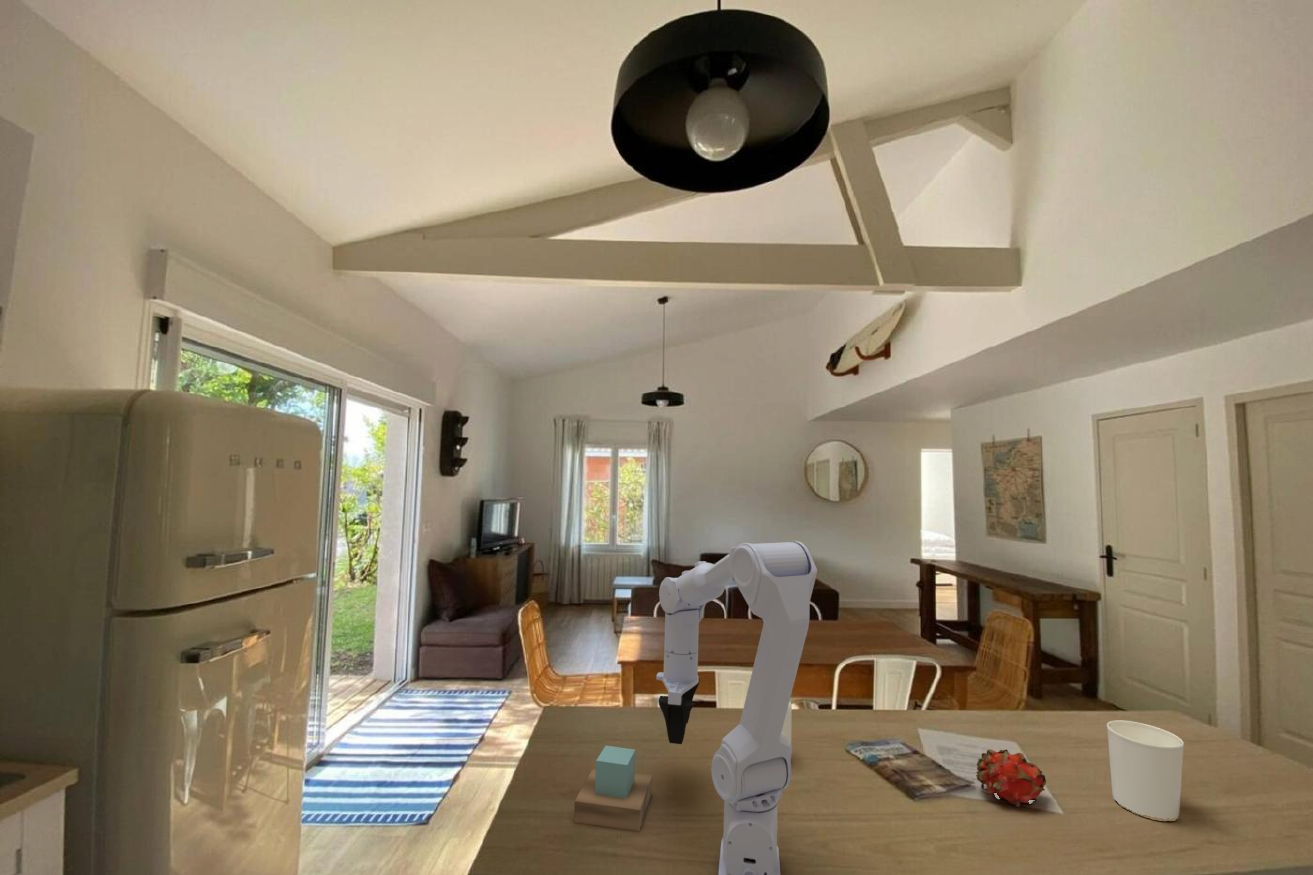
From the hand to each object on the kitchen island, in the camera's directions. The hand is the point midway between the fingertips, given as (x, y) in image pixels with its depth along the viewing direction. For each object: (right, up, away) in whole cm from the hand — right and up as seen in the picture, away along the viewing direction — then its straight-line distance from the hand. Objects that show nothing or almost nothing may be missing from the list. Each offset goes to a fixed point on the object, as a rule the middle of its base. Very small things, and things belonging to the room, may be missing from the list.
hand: (679, 732), depth 97 cm
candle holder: (+77, -12, -2) cm, 78 cm away
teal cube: (-10, -6, -6) cm, 13 cm away
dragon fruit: (+56, -11, 0) cm, 57 cm away
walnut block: (-10, -9, -6) cm, 15 cm away
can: (+18, -11, +11) cm, 23 cm away
